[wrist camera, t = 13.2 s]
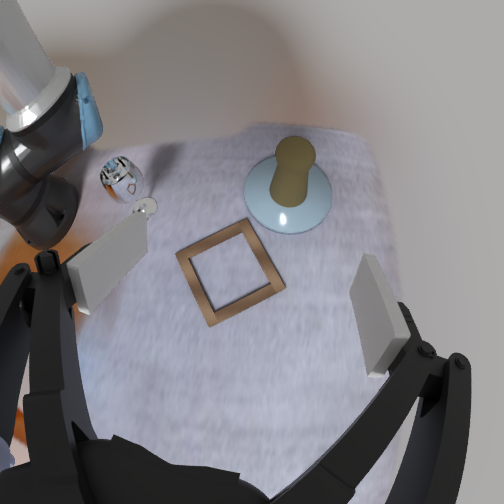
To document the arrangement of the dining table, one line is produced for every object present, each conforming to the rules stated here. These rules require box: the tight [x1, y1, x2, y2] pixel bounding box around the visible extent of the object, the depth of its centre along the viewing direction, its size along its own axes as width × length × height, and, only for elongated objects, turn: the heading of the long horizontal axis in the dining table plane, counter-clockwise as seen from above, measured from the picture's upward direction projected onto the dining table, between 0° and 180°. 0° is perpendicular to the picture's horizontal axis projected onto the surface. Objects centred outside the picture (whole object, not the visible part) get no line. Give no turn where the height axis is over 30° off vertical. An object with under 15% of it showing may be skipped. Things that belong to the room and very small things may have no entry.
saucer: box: [244, 156, 332, 234], centre depth 43 cm, size 14×14×1 cm
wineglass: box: [100, 156, 157, 221], centre depth 37 cm, size 6×6×12 cm
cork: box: [269, 136, 316, 208], centre depth 37 cm, size 6×6×11 cm
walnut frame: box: [175, 219, 285, 327], centre depth 39 cm, size 12×12×1 cm
